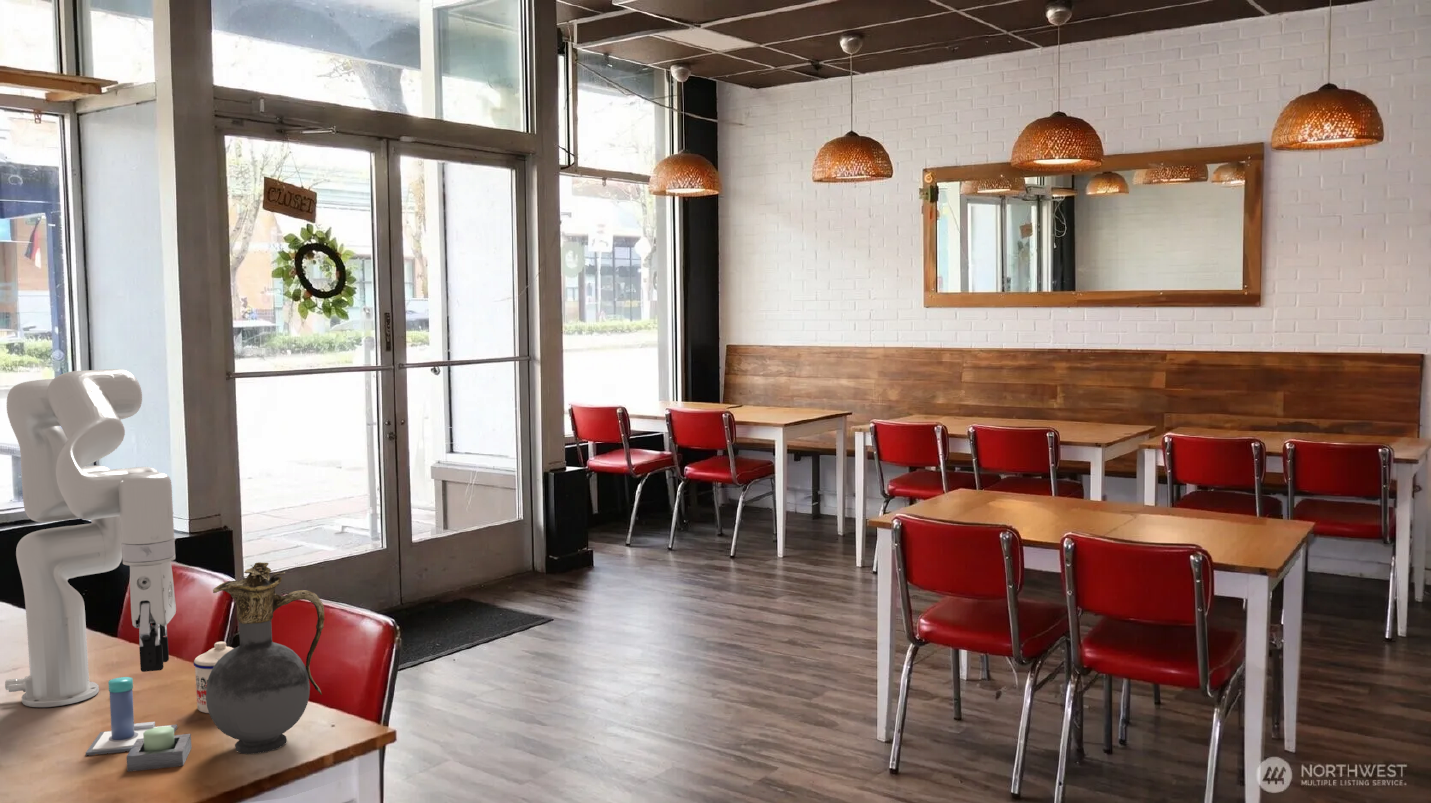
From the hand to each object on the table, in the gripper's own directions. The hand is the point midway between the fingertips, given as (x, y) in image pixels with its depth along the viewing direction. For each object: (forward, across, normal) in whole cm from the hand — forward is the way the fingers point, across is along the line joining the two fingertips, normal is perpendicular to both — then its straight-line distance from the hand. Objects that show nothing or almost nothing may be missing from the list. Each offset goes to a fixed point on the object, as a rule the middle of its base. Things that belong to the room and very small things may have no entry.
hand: (155, 665), depth 189 cm
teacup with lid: (+15, +24, -7) cm, 29 cm away
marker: (+14, +11, +8) cm, 20 cm away
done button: (+14, 0, 0) cm, 14 cm away
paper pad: (+15, +10, +6) cm, 19 cm away
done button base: (+15, 0, 0) cm, 15 cm away
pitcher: (+15, +2, -16) cm, 23 cm away
